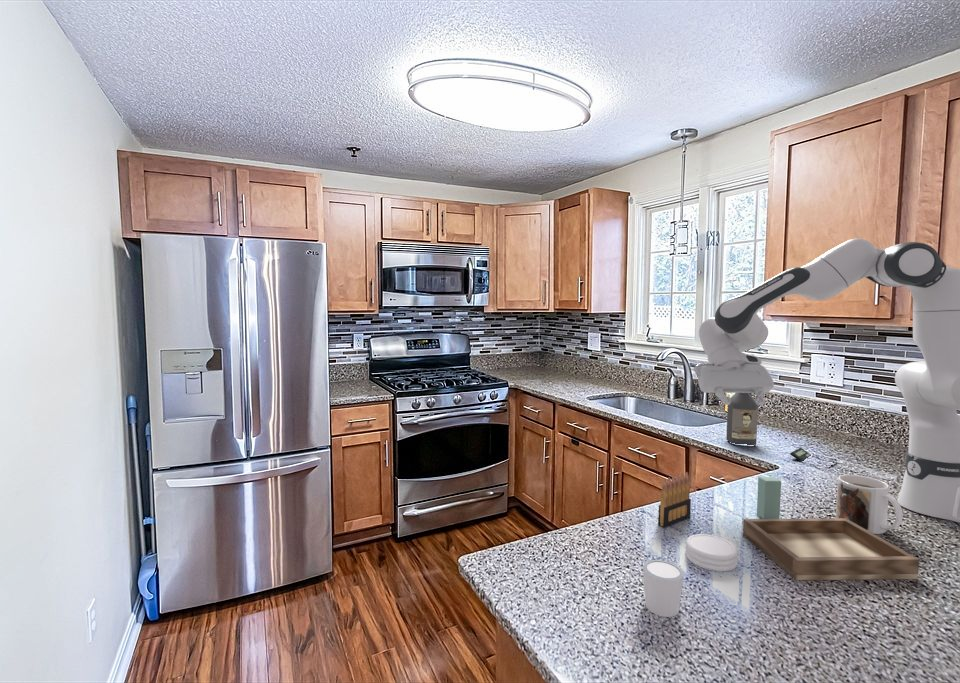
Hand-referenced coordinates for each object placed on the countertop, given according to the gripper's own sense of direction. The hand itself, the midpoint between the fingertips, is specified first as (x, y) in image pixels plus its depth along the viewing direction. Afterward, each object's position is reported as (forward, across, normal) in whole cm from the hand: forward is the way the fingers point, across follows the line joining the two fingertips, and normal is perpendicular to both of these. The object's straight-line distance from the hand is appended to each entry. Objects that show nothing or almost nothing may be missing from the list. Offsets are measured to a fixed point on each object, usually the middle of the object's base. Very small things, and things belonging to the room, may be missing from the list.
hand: (744, 403), depth 133 cm
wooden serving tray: (+41, 0, -3) cm, 41 cm away
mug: (+32, +20, +6) cm, 38 cm away
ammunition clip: (+30, -25, +9) cm, 40 cm away
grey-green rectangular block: (+28, 0, +10) cm, 30 cm away
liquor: (-19, +31, +57) cm, 68 cm away
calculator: (-3, +44, +42) cm, 61 cm away
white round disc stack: (+42, -25, -4) cm, 49 cm away
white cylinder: (+53, -42, -15) cm, 70 cm away
